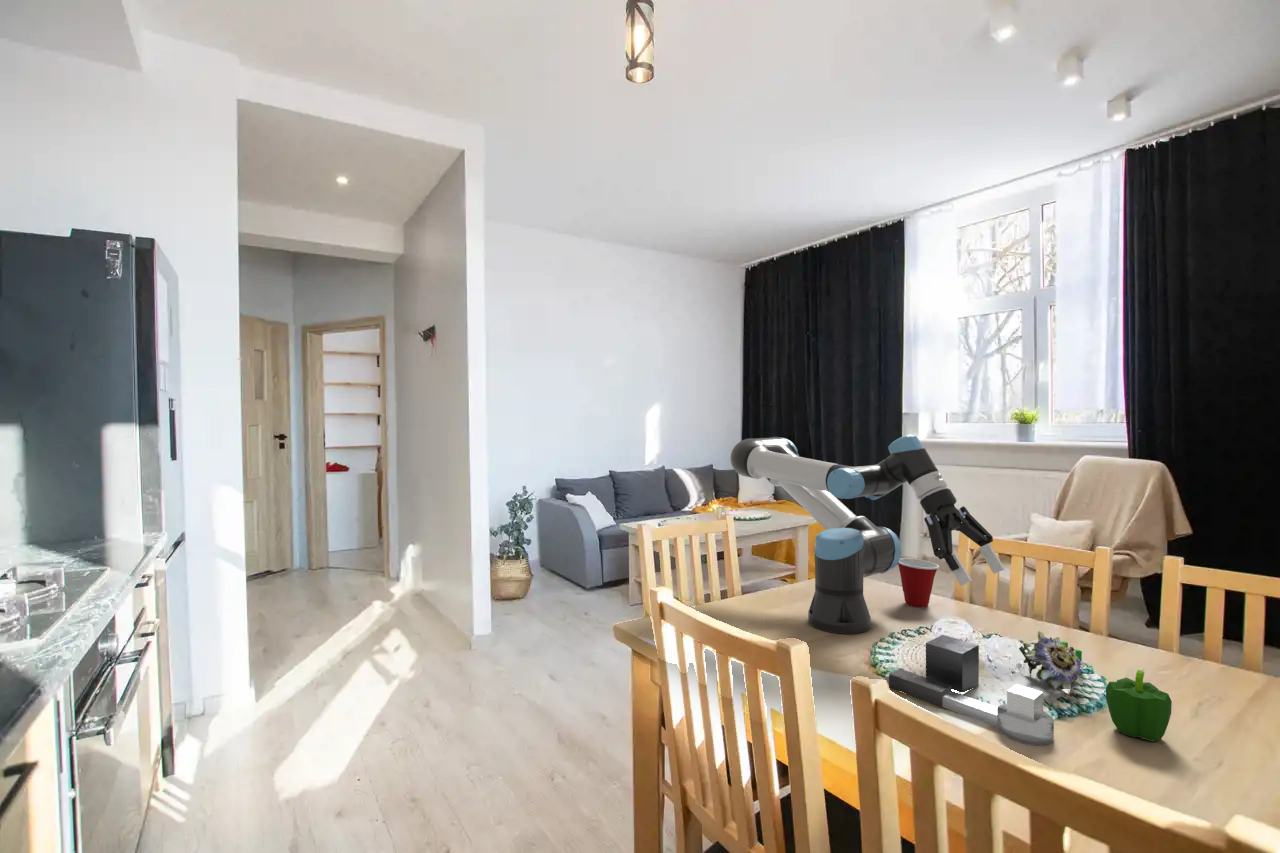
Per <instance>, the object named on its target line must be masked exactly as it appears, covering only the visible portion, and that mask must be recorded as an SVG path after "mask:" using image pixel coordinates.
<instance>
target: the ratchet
mask: <svg viewBox="0 0 1280 853" xmlns="http://www.w3.org/2000/svg"><path fill="white" fill-rule="evenodd" d="M884 679H885V680H887V682H888V684H889V687H890V688H889V687H888V688H889V689H890V690H893V691H895V690H896V692H898V691H902V692H904V693H906V694H907V695H906V694H905V695H906V696H909V695H910V696H909V697H911V696H912V698H915V699H916V700H917V699H918V700H920V701H922V702H925V703H928V704H930V705H934V706H936V707H938V708H944V709H947V710H950V711H952V712H955V713H958V714H961V715H964V716H966V717H968V718H971V719H974V720H977V721H980V722H982V723H985V724H988V725H991V726H993V727H996V728H997V730H998V731H999V733H1000V734H1002V735H1003V736H1005V738H1008V739H1010V740H1012V741H1015V742H1017V743H1020V744H1023V745H1029V746H1037V747H1043V746H1049V745H1052V744H1053V743H1054V741H1055V726H1054V725H1055V720H1054V718H1053V716H1051V715H1050V714H1049V713H1047V712H1045V711H1044V692H1043V691H1041V690H1037V689H1035V688H1031V687H1027V686H1025V685H1021V684H1019V683H1016V684H1014V685H1013V686H1012V687H1010V688H1009V689H1007V690H1006V703H1003V704H1001V705H999V706H995V705H992V704H989V703H986V702H984V701H981V700H978V699H975V698H972V697H970V696H966V695H961V694H958V693H955V692H952V691H951V686H950V685H947V684H944V683H941V682H938V681H935V680H932V679H929V678H926V676H923V675H919V674H918V673H914V672H911V671H909V670H905V669H902V668H898V669H896V670H894V671H892V672H890V673H888V674H886V675H885V676H884ZM885 680H884V681H885Z"/></svg>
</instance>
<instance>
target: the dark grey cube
mask: <svg viewBox="0 0 1280 853" xmlns="http://www.w3.org/2000/svg"><path fill="white" fill-rule="evenodd" d="M979 657H980V644H977V643H974V642H971V641H966V640H963V639H961V638H956V637H953V636H949V635H944V634H941V635H939V636H938V637H935V638H933V639H931V640H929V641H927V642H925V677H926V678H929V679H932V680H935V681H938V682H941V683H944V684H947V685H950V686H951V689H954V690H957V691H959V692H965V691H967V690H970V689H972V688H974V687H975V688H977V687H979V685H980V683H979V682H980V681H979V679H980V675H979V674H980V672H979V671H980V668H979V667H980V660H979V659H980V658H979ZM976 686H977V687H976ZM975 688H974V689H975ZM972 690H973V689H972Z"/></svg>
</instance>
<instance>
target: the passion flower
mask: <svg viewBox="0 0 1280 853" xmlns="http://www.w3.org/2000/svg"><path fill="white" fill-rule="evenodd" d="M1037 638H1038V639H1037V642H1036V643H1034V644H1033V648H1032V649H1031V650H1030V649H1029V648H1030V647H1032V644H1031V643H1027V642H1023V644H1022V645H1023V646H1022V645H1021V646H1020V647H1018V649H1019V651H1020V652H1021V654H1022V655H1023V657H1024V658H1025V659H1024V660H1023V663H1024V664H1027V666H1028V671H1029V675H1030V674H1031V675H1032V674H1033V673H1032V672H1033V671H1034V670H1035V669H1037V666H1038V667H1039V666H1041V667H1040V669H1038V670H1037V672H1036V676H1035V677H1036V678H1037V679H1038V680H1040V681H1045V680H1047V683H1048V685H1049V687H1050V688H1052V690H1053V691H1056V690H1058V689H1059V688H1060V690H1061V689H1071V690H1072V682H1073V683H1074V684H1076V685H1079V686H1083V685H1084V683H1083V680H1082V677H1080V676H1083V674H1082V673H1084V671H1083V670H1081V669H1080V668H1082V669H1083V668H1086V667H1085V666H1086V663H1085V661H1080V660H1079V659H1078V658H1079V657H1077V656H1076V652H1075V651H1074V649H1075V648H1074V647H1073V646H1068V647H1066V646H1065V645H1064V643H1063V644H1062V645H1061V643H1060V642H1061V638H1060V637H1058V636H1057V637H1055V638H1052V637H1049V638H1048V637H1047V636H1045V635H1044V633H1043V632H1041V631H1039V630H1038V632H1037ZM1026 651H1027V652H1026ZM1080 671H1082V672H1080Z"/></svg>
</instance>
